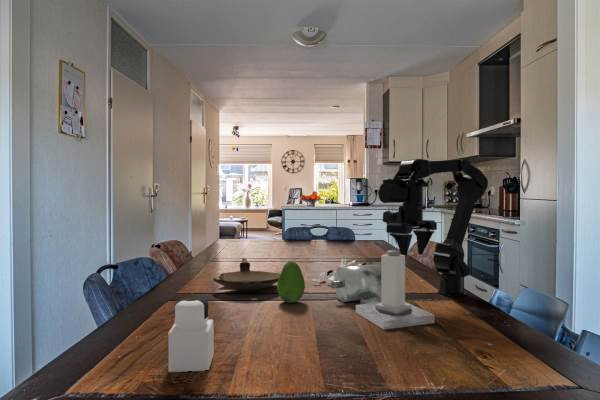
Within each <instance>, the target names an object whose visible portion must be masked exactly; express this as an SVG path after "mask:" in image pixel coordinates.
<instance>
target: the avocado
mask: <svg viewBox="0 0 600 400" xmlns="http://www.w3.org/2000/svg"><path fill="white" fill-rule="evenodd" d="M280 271H281V272H280V273H279V274H280V276H279V279H278V282H277V285H276V286H277V287H276V291H277V295H278V296H279V298H280V299H281V300H282V301H283V302H284V303H287V304H292V303H293V304H294V303H297V302H299V300H300V299H302V297H303V295H304V293H305V289H306V284H305V278H304V274H303V272H302V269H301V268H300V266H299V265H298V263H296V262H294V261H291V260H290V261H287V262H286V263H285V264H284V265H283V267H282V269H281V270H280Z"/></svg>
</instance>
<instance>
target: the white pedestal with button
mask: <svg viewBox="0 0 600 400" xmlns="http://www.w3.org/2000/svg"><path fill="white" fill-rule="evenodd" d="M380 257H381V258H380V259H381V260H380V261H381V265H380V266H381V303H378V304H375V309H379V310H383V311H388V312H392V313H396V314H398V313H401V312H403V311H406V310H409V309H411V305H412V304H411V303H409V304H406V303H405V302H406V258H405V255H401V253H400V250H395V249H393V250H390V249H389V250H387V251H386V254H381V256H380Z"/></svg>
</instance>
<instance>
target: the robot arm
mask: <svg viewBox="0 0 600 400" xmlns="http://www.w3.org/2000/svg"><path fill="white" fill-rule="evenodd" d="M462 172H463V173H464V174H463V173H462ZM440 173H441V174H443V173H452V178H453V180H454V182H455V183H456V184H457V187H456V191H457V196H458V197H459V198H458V200H457V204H456V208H455V210H454V213H453V216H452V220H451V221H450V222H451V223H450V225H449V228H448V231H447V234H446V237H445V239H444V241H443V242H437V243H436V244H435V250H434V251H433V253H432V255H433V257H432V261H433V263H434V267H435V269H436V273H440V279H439V290H437V292H438V293H439V294H441V295H442V294H443V295H444V296H445V295H446V297H447V296H448V297H454V298H455V297H461V296H468V294H469V293H467V292H465V278H466V277H469V276H470V273H471V269H470V267H469V266H468V264H467V263H466V262H465V260H464V259H465V251H464V247H463V242H464V241H465V240H464V239H465V237H466V235H467V230H468V228H469V224H470V221H471V218H472V214H473V212H474V209H475V205H476V202H478V201H479V200H480V199H481V198H482V197H483V196H484V195H485V192H486V190H487V188H488V185H489V180H488V178H487V176H486V175H485V173H483V172H482V171H481V169H479V168H478V167H476V166H475V165H473V164H471V163H470V162H469V161H468V159H466V158H463V157H462V158H454V159H453V158H452V159H447V160H436V161H432V160H429V159H425V158H424V159H423V158H416V159H415V158H414V159H407V160H402V161H401V162H400V164H399V167H398V169H397V171H396V172H395V174H394V176H393V178H384V179H382V183H381V184H380V186H379V188H378V189H379V190H378V191H377V194H378V199H379V201H380V202H381V203H383V204H399V203H401V205H399V207H398V211H395V212H392V211H391V210H386V211H384V212H383V214H382V222H383V223H385V224H386V229H385V230H386V233H387V234H389V236H391V237H393V238H394V239H395V241H396V244H397V246H398V249H399V250H398V251H400V255H405V259H406V258H407V256H408V254H409V249H410V246H411V241H412V238H413V234H414V235H415V237H416V244H417V245H416V246H417V253H418V255H423V254H424V252H425V250H426V247H427V246H428V243H429V242H430V240H431V238H432V236H433V234H435V231H436V230H437V229H438V228H437V227H438V224H437V222H436V221H435V220H432V219H431V220H429V219H424V217H423V215H424V214H423V213H424V212H423V211H425V210H426V209H427V207H426V205H423V203H424V202H423V201H424V198H423V197H424V196H423V195H424V193H423V191H424V188H429V186H430V185H429V183H428V182H426V181H425V179H424V178H427V177H429V176H431V175H434V174H440ZM412 232H413V234H412Z"/></svg>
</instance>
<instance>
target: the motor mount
mask: <svg viewBox="0 0 600 400" xmlns="http://www.w3.org/2000/svg"><path fill="white" fill-rule="evenodd" d="M335 271H336V272H335V273H334V281H333V282H331V285H330V288H331V289H332V290H335V294H336V297H337V298H338V300H339V301H340V302H341V303H345V302H347V303H348V302H357V301H359V303H360V304H355V314H357V315H359V316H360V317H362V318H364V319H366V320H367V321H369V322H370V323H372V324H374V326H377V327H379V328H380V329H381V330H383V331H385V330H390V329H391V330H392V329H400V328H405V327H406V328H408V327H414V326H421V325H428V324H430V325H431V324H435V314H434V313H431V312H429V311H427V310H425V309H422V308H421V307H418V306H416V305H414V304H411V309H409V310H406V311H403V312H401V313H398V314H396V313H392V312H388V311H383V310H379V309H375V304H378V303H381V265H379V264H376V263H375V264H366V265H360V266H358V265H347V266H345V267H339V266H338V267H337V268H336V270H335ZM405 303H406V304H410V303H409V302H407V301H405Z"/></svg>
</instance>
